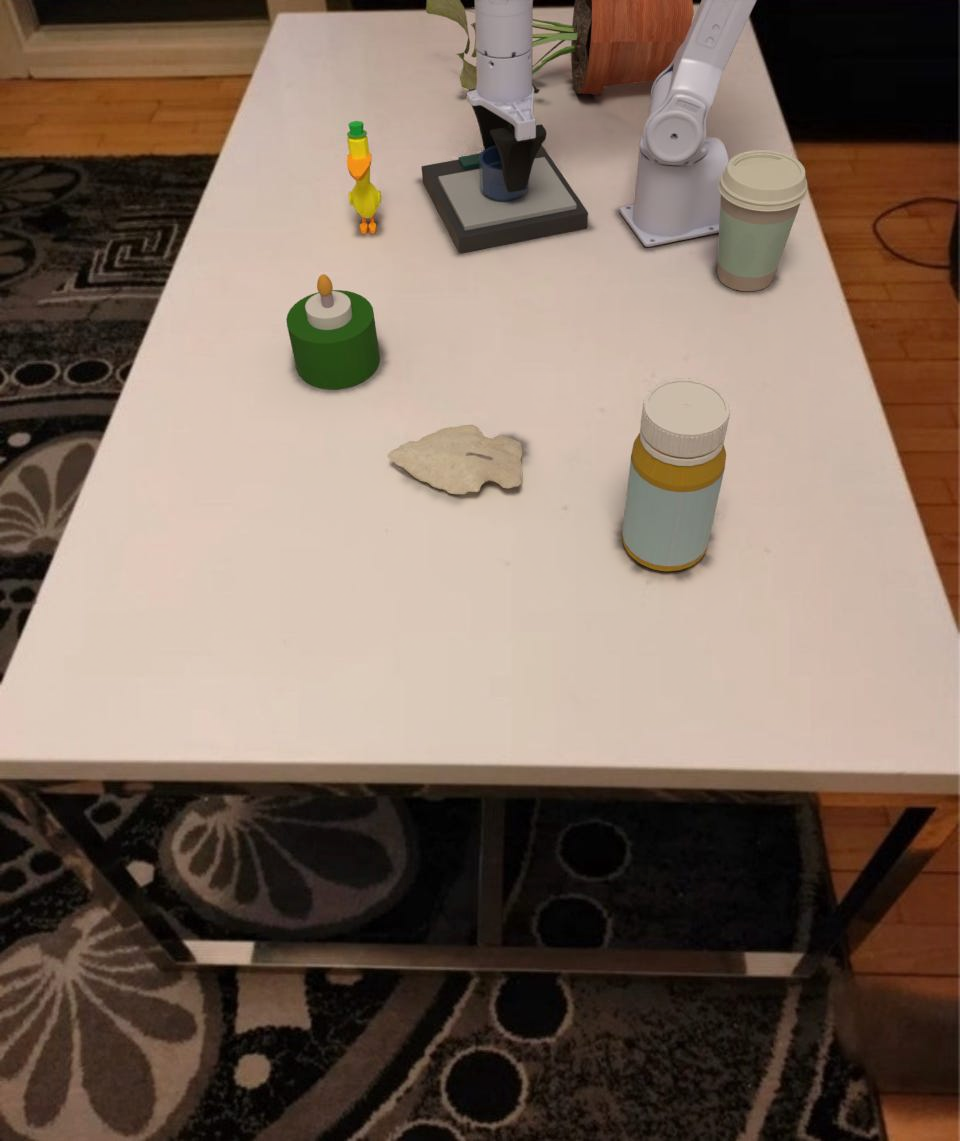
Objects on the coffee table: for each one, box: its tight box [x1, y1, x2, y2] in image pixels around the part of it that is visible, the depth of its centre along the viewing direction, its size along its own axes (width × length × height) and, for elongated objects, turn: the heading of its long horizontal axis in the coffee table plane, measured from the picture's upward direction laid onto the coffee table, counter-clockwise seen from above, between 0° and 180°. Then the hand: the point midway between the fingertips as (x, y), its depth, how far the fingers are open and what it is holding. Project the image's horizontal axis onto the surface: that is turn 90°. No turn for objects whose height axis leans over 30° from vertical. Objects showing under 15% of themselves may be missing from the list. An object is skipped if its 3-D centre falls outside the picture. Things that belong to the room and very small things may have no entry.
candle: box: [285, 273, 381, 390], centre depth 96 cm, size 8×8×10 cm
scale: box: [421, 144, 589, 254], centre depth 116 cm, size 15×16×3 cm
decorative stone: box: [387, 424, 523, 495], centre depth 89 cm, size 8×12×3 cm
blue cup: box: [479, 145, 530, 202], centre depth 113 cm, size 6×6×4 cm
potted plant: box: [425, 0, 695, 95], centre depth 129 cm, size 16×15×35 cm
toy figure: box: [346, 120, 382, 235], centre depth 110 cm, size 7×4×12 cm, turn 1°
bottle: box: [621, 377, 731, 572], centre depth 78 cm, size 7×7×15 cm
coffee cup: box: [716, 149, 808, 292], centre depth 102 cm, size 9×8×12 cm
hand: (505, 172), depth 113 cm, fingers open, 7 cm apart
